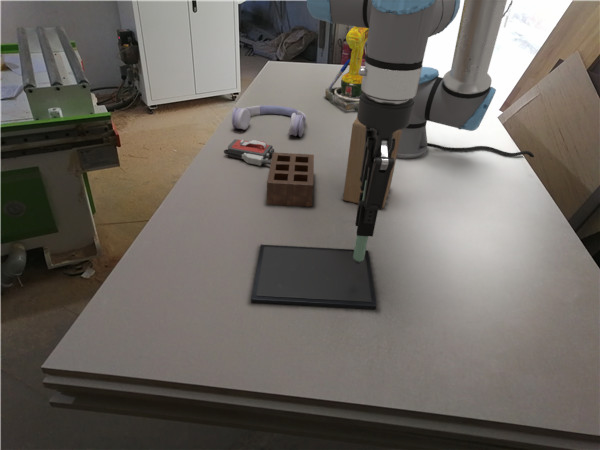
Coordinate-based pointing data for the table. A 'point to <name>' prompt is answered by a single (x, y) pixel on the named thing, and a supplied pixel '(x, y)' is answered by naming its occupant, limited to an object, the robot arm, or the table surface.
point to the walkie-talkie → (250, 151)
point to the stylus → (360, 245)
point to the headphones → (243, 114)
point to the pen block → (290, 179)
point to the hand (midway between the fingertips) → (363, 229)
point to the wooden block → (356, 160)
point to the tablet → (313, 277)
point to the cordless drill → (350, 72)
